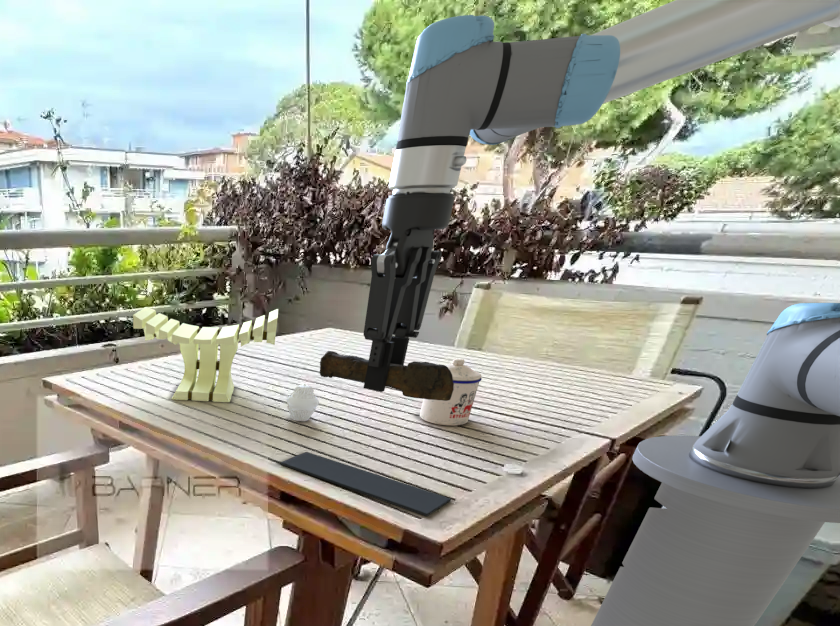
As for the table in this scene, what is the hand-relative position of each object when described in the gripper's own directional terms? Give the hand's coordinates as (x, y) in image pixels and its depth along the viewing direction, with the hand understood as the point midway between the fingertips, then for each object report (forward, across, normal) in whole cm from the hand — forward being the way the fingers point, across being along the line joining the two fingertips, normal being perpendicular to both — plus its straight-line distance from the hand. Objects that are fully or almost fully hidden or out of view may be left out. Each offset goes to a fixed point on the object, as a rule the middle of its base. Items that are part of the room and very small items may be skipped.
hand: (381, 386), depth 77 cm
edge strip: (+14, -1, 0) cm, 14 cm away
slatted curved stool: (+14, +18, +51) cm, 56 cm away
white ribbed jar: (+14, +17, +24) cm, 33 cm away
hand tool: (+1, 0, 0) cm, 1 cm away
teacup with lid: (+14, +39, +5) cm, 42 cm away
